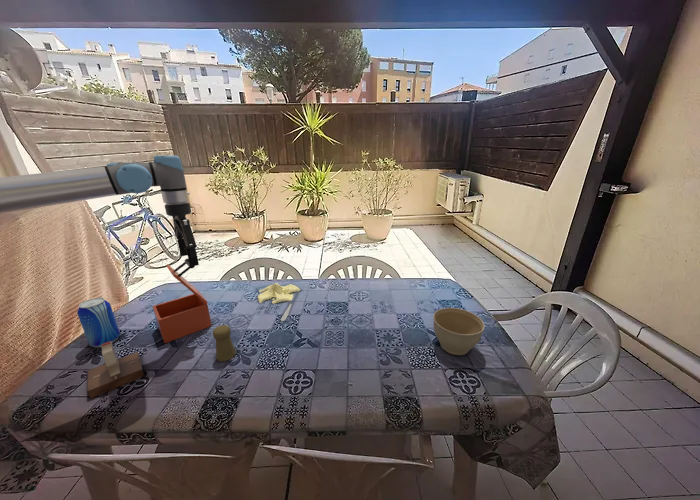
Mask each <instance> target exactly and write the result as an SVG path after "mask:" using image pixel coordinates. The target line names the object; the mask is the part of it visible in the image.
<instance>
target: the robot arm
mask: <svg viewBox="0 0 700 500" xmlns="http://www.w3.org/2000/svg"><path fill="white" fill-rule="evenodd" d="M152 187H160V194H161V198H162V202H163V203H164V204H165V205H164V209H165V214H166V215H167V216H168V217H172V222H173V230H174V236H175V238H176V240H177V241H176V242H177V246H178V250H179V254H180V257H186V256H187V259H188V260H189V264H190V267H192V266H195V267H197V266H199V265H200V264H199V258H198V253H197V249H196V248H198V244H197V242H196V239H195V236H194V232H193V230H192V226H191V222H190V219H189V218H188V219H187V217H186V216H187V215H190V214H192V208H191V207H192V206H191V203H190V202H189V201H190V198H189V195H190V191H188V188H187V182H186V177H185V170H184V168H183V164H182V160H181V157H179V156H178V155H154V156H153V161H147V162H145V161H143V162H142V161H141V162H138V161H135V162H133V161H132V162H131V161H128V162H123V161H122V162H121V161H119V162H118V161H117V162H109V163H107V164H106V166H105V165H104V166H95V167H86V168H77V169H68V170H57V171H49V172H40V173H30V174H21V175H20V174H19V175H12V176H10V175H9V176H3V177H0V214H7V213H14V212H19V211H26V210H33V209H37V208H44V207H51V206H56V205H63V204H69V203H76V202H82V201H88V200H94V199H100V198H106V197H107V198H108V197H114V196H120V195H122V196H123V195H127V194H143V193H146V192H147V191H149V190H150V189H151V188H152Z"/></svg>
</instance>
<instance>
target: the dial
mask: <svg viewBox="0 0 700 500" xmlns="http://www.w3.org/2000/svg"><path fill="white" fill-rule="evenodd" d="M101 355H102V358H103V361H104V363H105V364H106V366H107V369H108V371H109V374H110V377H111V376H114V375H116V374H119V373H120V367H119V362H118V359H119V358H118V356H117V354H116V351H115V348H114V345H113V343H112V342H111V341H109V342H106V343H103V344H102V347H101Z"/></svg>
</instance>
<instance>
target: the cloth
mask: <svg viewBox="0 0 700 500" xmlns="http://www.w3.org/2000/svg"><path fill="white" fill-rule="evenodd" d="M300 291H301V288H299V287H298V286H296V285H294V284H291V283H290V284H287V285H285V286H283V285H282V286H281V284H279V283H278V282H274V283H273V284H270V285H268V286H266V287H265V288H262V289H260V290H259V291H258V292H259V294H258V295H257V301H258V302H259V303H260V304H261V303H263V302H265V301H268V300H271V303H272V304H273V305H274V304H278V303H284V302H291V301H292V300H293V298H294V294H293V293H297V292H300Z"/></svg>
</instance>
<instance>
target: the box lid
mask: <svg viewBox="0 0 700 500" xmlns="http://www.w3.org/2000/svg"><path fill="white" fill-rule="evenodd" d="M185 265H187V266H188V267H187V268H185V269H184V270H182V271H181V272H178V271H179V270H180V269H182V268H183V267H185ZM165 266H166V268H167V269H168V271H169V272H170V274H171V275H172V277H174V278H175V280H176V281H178V282H180V283H181V285H183V286H184V287H185V288H186V289H188V290H189V292H191V293H192V294H195V295H196V296H197V297H199V298H200V299H201V300H202V301H203V302H204V303H206V304H207V305H208V303H209V302H208V300H207V299H206V298H205V297H204V295H203V294H202V293H201V292H200V290H199V289H198V288H196V287H195V286H194V285H193V284H191V283H190V282H189V281H188V280H187V279H186V278H185V277H183V275H184V274H185V273H187V272H188V271H189V270H190V269H195V267H196V266H192V267H190V264H189V260H188V258H185V259H184V261H183V263H181V264H180V265H179V266H177V267H176V268H175V269H174V268H173V267H172V266H171V265H170V264H166V265H165Z"/></svg>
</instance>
